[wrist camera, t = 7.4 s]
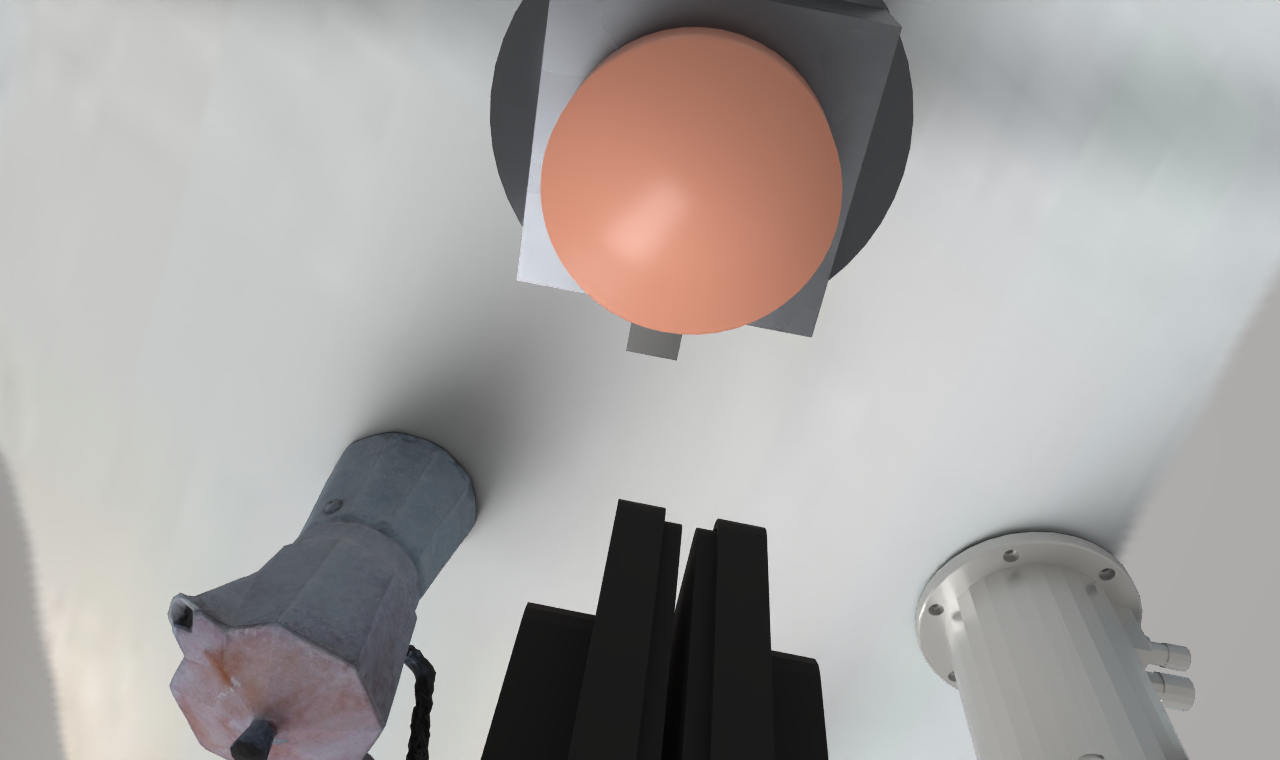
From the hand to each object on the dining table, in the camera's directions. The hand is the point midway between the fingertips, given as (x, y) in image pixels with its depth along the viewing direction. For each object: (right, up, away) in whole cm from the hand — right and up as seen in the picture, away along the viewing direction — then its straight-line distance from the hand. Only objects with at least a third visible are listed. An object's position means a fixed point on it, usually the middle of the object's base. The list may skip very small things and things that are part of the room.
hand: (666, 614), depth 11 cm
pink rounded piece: (+1, +10, +17) cm, 19 cm away
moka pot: (-14, -4, +47) cm, 49 cm away
